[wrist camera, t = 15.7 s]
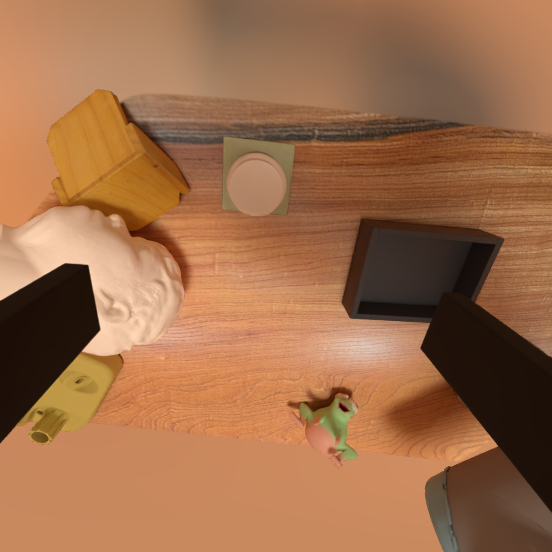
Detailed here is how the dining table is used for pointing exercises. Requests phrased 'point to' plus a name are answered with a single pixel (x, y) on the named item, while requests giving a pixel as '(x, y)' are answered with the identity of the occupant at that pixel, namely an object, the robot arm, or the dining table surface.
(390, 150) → the dining table surface
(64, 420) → the plastic component
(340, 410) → the frog
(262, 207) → the pill bottle
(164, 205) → the orange boxy piece
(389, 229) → the tote
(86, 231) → the bust
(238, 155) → the mat
